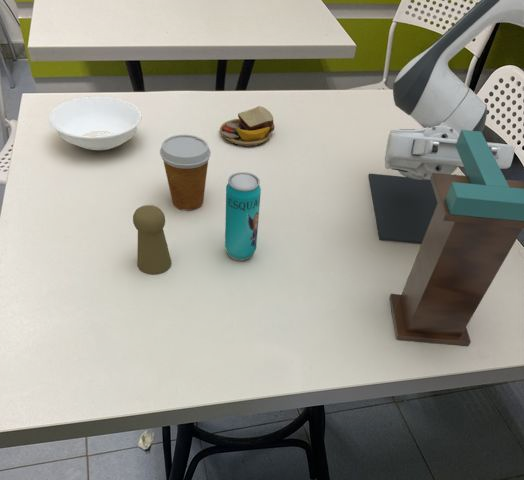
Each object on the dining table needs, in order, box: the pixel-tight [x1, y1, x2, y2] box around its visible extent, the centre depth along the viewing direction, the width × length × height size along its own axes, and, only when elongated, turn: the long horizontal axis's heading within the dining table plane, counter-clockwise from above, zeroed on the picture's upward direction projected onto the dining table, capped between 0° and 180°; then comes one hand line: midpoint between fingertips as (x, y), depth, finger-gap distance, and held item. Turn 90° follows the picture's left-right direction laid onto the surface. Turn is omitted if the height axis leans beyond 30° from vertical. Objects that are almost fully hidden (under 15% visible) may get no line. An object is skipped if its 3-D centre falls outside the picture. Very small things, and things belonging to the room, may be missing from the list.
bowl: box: [48, 95, 143, 151], centre depth 111 cm, size 20×20×6 cm
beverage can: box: [224, 171, 262, 262], centre depth 86 cm, size 6×6×15 cm
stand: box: [388, 173, 524, 347], centre depth 75 cm, size 13×10×24 cm
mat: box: [368, 172, 438, 244], centre depth 105 cm, size 16×24×1 cm, turn 177°
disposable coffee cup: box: [159, 134, 212, 211], centre depth 96 cm, size 10×10×12 cm
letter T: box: [445, 130, 524, 221], centre depth 67 cm, size 12×18×2 cm, turn 177°
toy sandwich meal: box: [219, 105, 275, 147], centre depth 119 cm, size 12×14×5 cm
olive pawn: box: [132, 204, 173, 275], centre depth 84 cm, size 6×6×11 cm
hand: (464, 149), depth 74 cm, fingers open, 8 cm apart
